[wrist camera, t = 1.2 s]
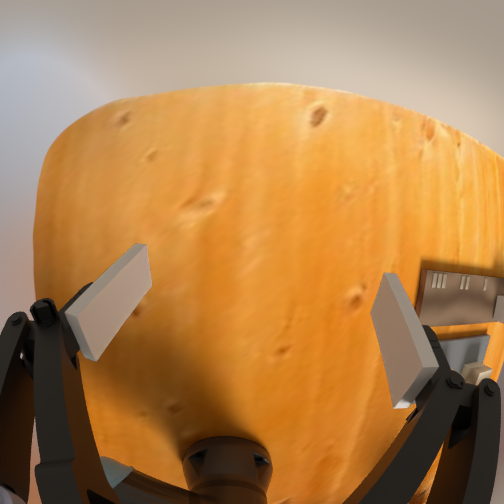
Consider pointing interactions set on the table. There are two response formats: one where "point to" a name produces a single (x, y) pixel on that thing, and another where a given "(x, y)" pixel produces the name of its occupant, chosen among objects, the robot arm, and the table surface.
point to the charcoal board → (464, 350)
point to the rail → (457, 298)
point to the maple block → (475, 372)
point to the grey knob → (499, 310)
